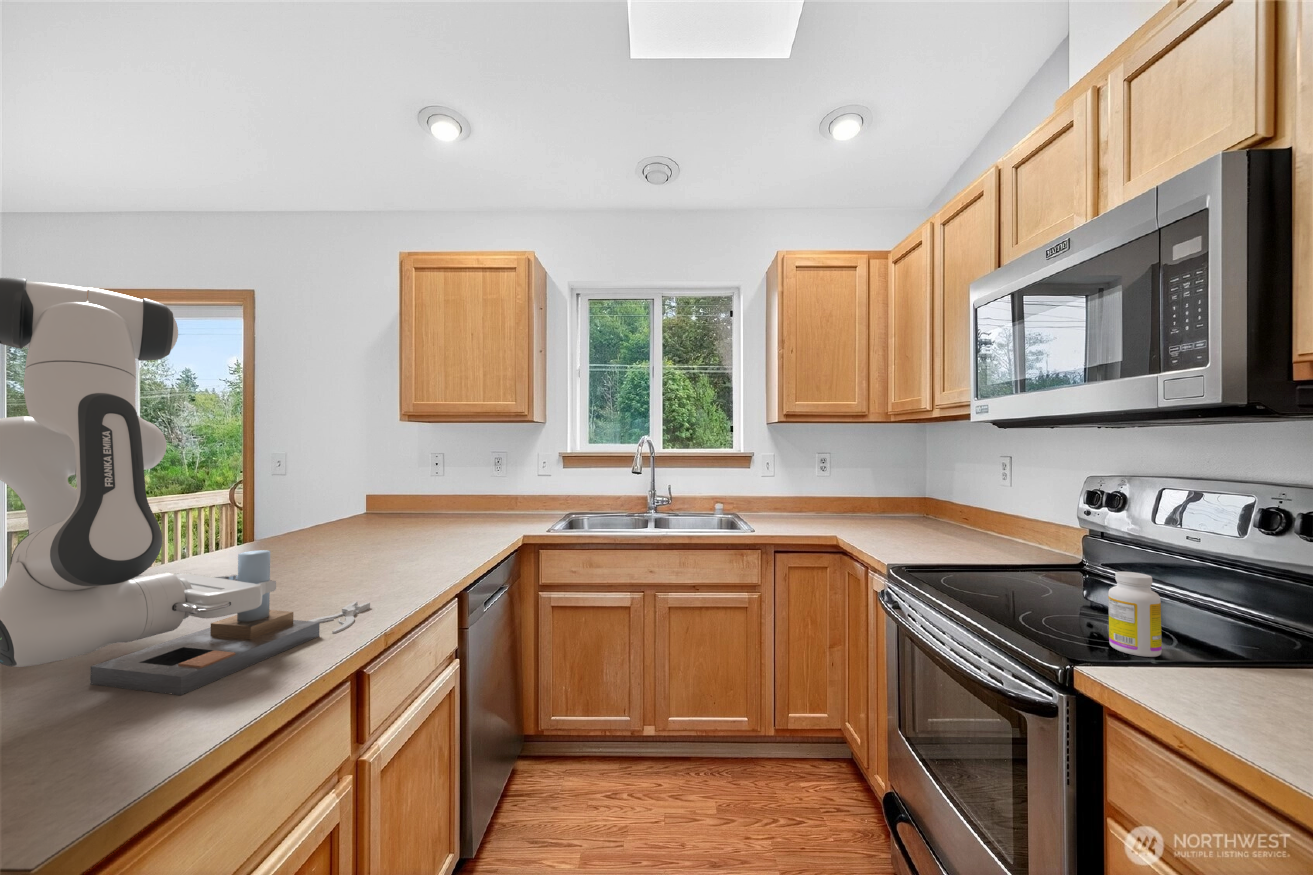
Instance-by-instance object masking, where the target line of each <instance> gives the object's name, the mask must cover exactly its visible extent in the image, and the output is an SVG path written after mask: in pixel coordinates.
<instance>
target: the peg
mask: <svg viewBox="0 0 1313 875" xmlns="http://www.w3.org/2000/svg"><path fill="white" fill-rule="evenodd" d="M237 563H238V564H237V575H238V581H241V582H248V583H254V584H258V583H260V582H261V581H266V580H271V550H266V549H265V550H263V549H262V550H251V551H250V550H249V551H244V552H240V553H238V556H237ZM270 595H271V592H269V593H265V594H264V595H262V604H261V606H259V607H258V608H256V609H253V610H249V611H245V612H241V613H236V615H237V621H241V622H247V621H255V620H260V619H263V618H266V617H268V616H269V610H270V604H271V603H270V602H271V601H270V598H271V596H270Z"/></svg>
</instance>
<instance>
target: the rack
mask: <svg viewBox="0 0 1313 875" xmlns="http://www.w3.org/2000/svg"><path fill="white" fill-rule="evenodd" d="M320 625H321V623H320V622H313V621H308V620H302V619H301V620H300V619H299V620H298V619H294V611H289V610H288V611H287V610H286V611H285V610H276V609H269V616H268V617H266V618H263V619H260V620H255V621H247V622H241V621H237V614H234V615H233V616H232V615H231V616H229V617H227V618H222V619H219V620H217V621H214V622H211V623H210V627H207V628H204V629H201V630H198V631H195V632H191V633H189V634H186V635H185V634H184V635H182V636H180V637H177V638H173V639H171V640H167V641H164V642H161V643H158V644H155V645H152V646H150V647H146V648H143V649H141V650H137V651H134V652H131V653H127V654H125V655H124V654H123V655H121V656H118V657H116V658H112V659H109V660H106V661H103V662H100V663H97V664H93V665H91V666H90V673H89V674H90V676H89V679H90V681H89V684H90V685H93V686H94V685H95V686H101V687H108V688H109V687H111V688H118V689H120V688H121V689H126V690H134V691H142V690H145V691H144V692H150V691H153V692H152V693H158V692H159V694H166V693H172V694H171V695H174V694H176V696H183V695H185V694H187V693H189V692H192V691H194V690H197V689H199V688H201V686H202V687H204V686H206V685H208V683H209V684H210V683H213V682H216V681H217V680H220V679H222V678H224V677H226V676H230V675H231V674H234V673H237V672H238V671H241V670H243V669H247V668H248V667H250V666H253V665H256V664H257V663H260V662H262V661H264V660H267V659H268V658H269V659H270V658H272V657H274V656H277V655H278V654H281V653H283V652H285V651H288V650H290V649H292V648H295V647H297V646H300V645H302V644H305V643H306V642H309V641H311V640H314V639H316V638H319V637H320ZM184 693H185V694H184ZM182 694H183V695H182Z"/></svg>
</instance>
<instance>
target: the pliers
mask: <svg viewBox="0 0 1313 875" xmlns="http://www.w3.org/2000/svg"><path fill="white" fill-rule="evenodd" d="M370 608H371V602H370V601H369V602H364V603H361V604H359V605H358V601H353V602H351V603H349V604H347V605H345V606H343V607H342V608H341V612H339V613H334V614H331V615H330V614H329V615H324V616H320V617H316V618H313V619H308V620H307V621H313V622H320V624H322V623H326V622H327V623H328V622H332V621H334V620H335V619H336V618H337V619H338V621H337V622H338V624H340V626H338V627H337V628H336V629H334V630H332V632H331V634H337V633H339V632H341V631H343V630H345V629H348V628H349V627H350V626H352V625H353V624H354V623H355V615H357V614H360V613H362V612H364V611H367V610H369V609H370ZM340 617H344V620H345V621H342V620H341V618H340Z"/></svg>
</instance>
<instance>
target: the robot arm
mask: <svg viewBox="0 0 1313 875" xmlns="http://www.w3.org/2000/svg"><path fill="white" fill-rule="evenodd" d="M178 338H179V328H178V324H177V321H176V319H175V317H174V313H173V311H172V310H171V309H170V308H169V307H168V306H167V305H166V304H163V303H162V302H158V301H155V300H152V299H149V298H145V297H142V298H137V297H134V296H130V295H127V294H123V293H119V292H114V291H111V290H106V289H100V288H94V287H90V286H89V287H83V286H76V285H70V284H63V283H53V282H44V281H31V280H30V281H28V280H27V279H26V278H24V277H23V278H21V277H0V344H1V345H3V346H7V347H11V348H16V349H19V350H22V349H23V348H27V349H28V350H27V355H26V358H25V360H26V361H25V367H24V368H25V369H24V380H23V395H24V401H25V404H26V405H25V406H26V409H27V413H28V415H29V416H28V415H22V416H20V415H19V416H10V417H9V416H7V417H0V481H1V482H3V483H4V484H6V485H7V486H8V487H9V488H10V489H12V490H13V491H14V493H15V494H16V495H17V496H18V497H19V499H20V500H21V502H22V503H23V505H24V508H25V511H26V517H27V522H28V523H27V524H28V525H27V526H28V535H27V536H25V537H24V538H23V539H21V540H20V542H19V543H18V544H17V545H16V547H15V548H14V550H13V552H12V554H11V557H10V567H9V571H8V574H7V577H6V580H5V582H4V584H3V586H2V587H0V665H3V666H7V667H14V668H19V667H20V668H21V667H22V668H24V667H30V666H31V667H32V666H37V665H43V664H48V663H54V662H57V661H62V660H66V659H72V658H76V657H79V656H82V655H83V656H84V655H86V654H91V653H94V652H96V651H99V650H100V649H102V648H105V647H107V646H109V645H113V644H119V643H120V644H121V643H123V644H125V643H132V642H135V641H139V640H143V639H147V638H151V637H154V636H157V635H162V634H166V633H169V632H173V631H175V630H177V629H178V628H179V627H180V626H181V624H182V622H183V621H184V620H185V619H187V618H189V617H194V618H199V619H214V618H215V619H217V618H222V617H227V616H232V615H237V613H241V612H245V611H249V610H253V609H256V608H258V607H259V606H261V604H262V595H264V594H265V593H269V592H270V593H273V592H275V591H276V590H277V582H276V580H274V579H273V580H271V579H270V580H266V581H261V582H260V583H258V584H254V583H248V582H241V581H238V574H228V575H217V576H209V575H202V574H196V573H190V572H188V573H187V572H186V573H185V572H184V573H183V572H180V573H172V572H169V571H165V572H164V571H163V572H158V573H151V574H146V575H145V574H144V575H142V574H143V573H144V572H146V571H147V570H148V569H149V568H150V567H151V566H152V565H153V564H154V562H156V560H157V558H158V557H159V555H160V553H161V550H162V545H163V533H162V530H161V527H160V524H159V522H158V520H157V518H156V516H155V515H154V513H153V510H152V508H151V507H150V506H151V505H150V504H149V500H148V496H147V491H146V489H147V488H146V478H145V470H149V469H150V470H151V469H153V468H154V467H157V465H158V464H160V462H161V461H162V460H163V459H164V456H165V454H166V453H167V452H166V451H167V440H166V437H165V434H164V433H163V431H162V430H161V429H160V428H159V427H158V426H157V425H155V424H154V423H152V422H149V421H148V420H145V419H144V418H142V417H141V416H140V415H138V412H137V409H136V388H137V386H136V384H137V383H136V382H137V368H136V367H137V365H136V359H137V360H138V361H141V362H143V361H144V362H145V361H148V362H149V361H159V360H162V359H163V358H166V357H167V356H169V355H170V354H171V351H172V350H173V349H174V347H175V345H176V343H177V341H178ZM71 476H76V488H75V487H74V486H72V485H71V484H70V482H69V478H70V477H71Z"/></svg>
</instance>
